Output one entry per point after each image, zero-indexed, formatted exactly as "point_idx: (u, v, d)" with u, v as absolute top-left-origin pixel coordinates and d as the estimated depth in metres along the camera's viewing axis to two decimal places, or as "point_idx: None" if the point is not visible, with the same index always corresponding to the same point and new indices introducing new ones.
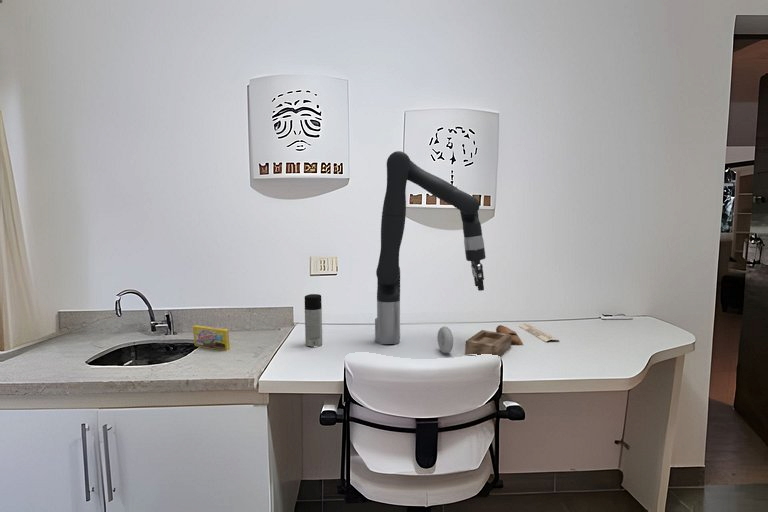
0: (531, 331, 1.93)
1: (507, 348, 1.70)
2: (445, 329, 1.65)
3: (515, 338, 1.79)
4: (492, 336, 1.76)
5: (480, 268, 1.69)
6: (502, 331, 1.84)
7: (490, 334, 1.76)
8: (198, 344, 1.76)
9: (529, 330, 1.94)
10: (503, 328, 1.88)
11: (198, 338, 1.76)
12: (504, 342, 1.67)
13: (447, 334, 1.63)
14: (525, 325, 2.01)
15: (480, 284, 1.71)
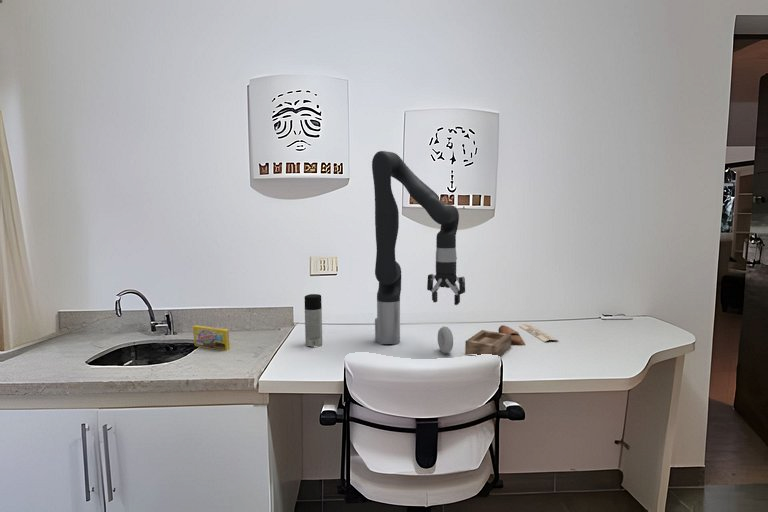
0: (530, 331, 1.93)
1: (507, 348, 1.70)
2: (445, 329, 1.65)
3: (517, 338, 1.79)
4: (492, 336, 1.76)
5: (463, 281, 1.62)
6: (504, 331, 1.84)
7: (490, 334, 1.76)
8: (198, 344, 1.76)
9: (529, 330, 1.94)
10: (505, 328, 1.87)
11: (198, 338, 1.76)
12: (504, 342, 1.67)
13: (447, 334, 1.63)
14: (525, 325, 2.01)
15: (459, 298, 1.63)
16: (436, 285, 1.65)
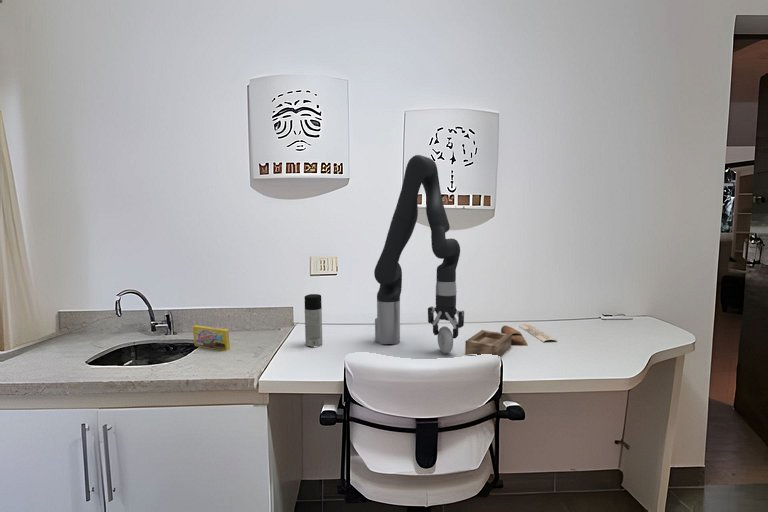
0: (530, 331, 1.93)
1: (507, 348, 1.70)
2: (445, 329, 1.65)
3: (519, 338, 1.78)
4: (492, 336, 1.76)
5: (463, 315, 1.63)
6: (506, 331, 1.84)
7: (490, 334, 1.76)
8: (198, 344, 1.76)
9: (528, 330, 1.94)
10: (508, 328, 1.87)
11: (198, 338, 1.76)
12: (504, 342, 1.67)
13: (447, 334, 1.63)
14: (525, 325, 2.01)
15: (457, 331, 1.64)
16: (436, 318, 1.67)
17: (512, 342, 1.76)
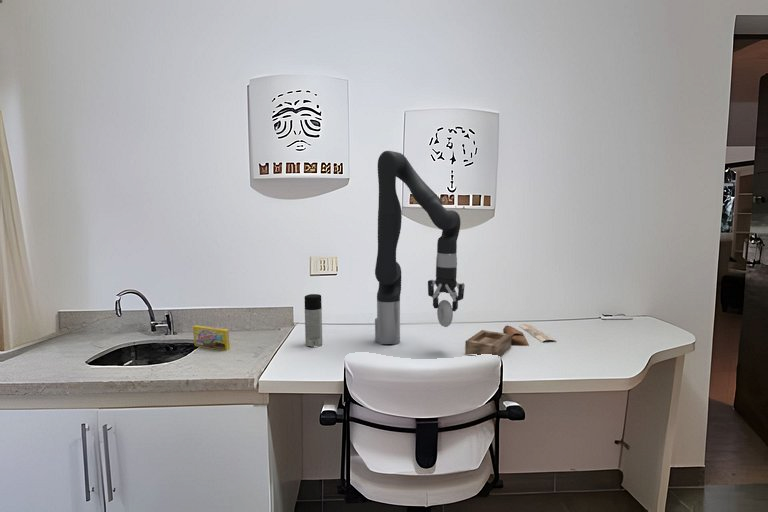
0: (530, 331, 1.93)
1: (507, 348, 1.70)
2: (445, 302, 1.64)
3: (520, 339, 1.78)
4: (492, 336, 1.76)
5: (463, 288, 1.62)
6: (508, 331, 1.84)
7: (490, 334, 1.76)
8: (198, 344, 1.76)
9: (528, 330, 1.95)
10: (510, 328, 1.87)
11: (198, 338, 1.76)
12: (504, 342, 1.67)
13: (447, 307, 1.62)
14: (525, 325, 2.01)
15: (456, 304, 1.63)
16: (436, 291, 1.65)
17: (513, 342, 1.76)
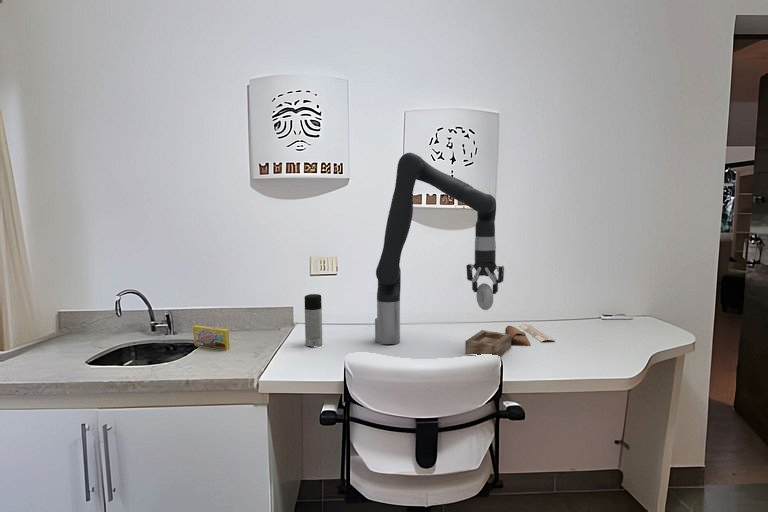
0: (529, 331, 1.93)
1: (507, 348, 1.70)
2: (485, 285, 1.65)
3: (522, 339, 1.78)
4: (492, 336, 1.76)
5: (503, 270, 1.63)
6: (510, 331, 1.84)
7: (490, 334, 1.76)
8: (198, 344, 1.76)
9: (527, 330, 1.95)
10: (511, 328, 1.87)
11: (198, 338, 1.76)
12: (504, 342, 1.67)
13: (487, 290, 1.63)
14: (525, 325, 2.01)
15: (497, 287, 1.64)
16: (476, 274, 1.66)
17: (515, 342, 1.76)
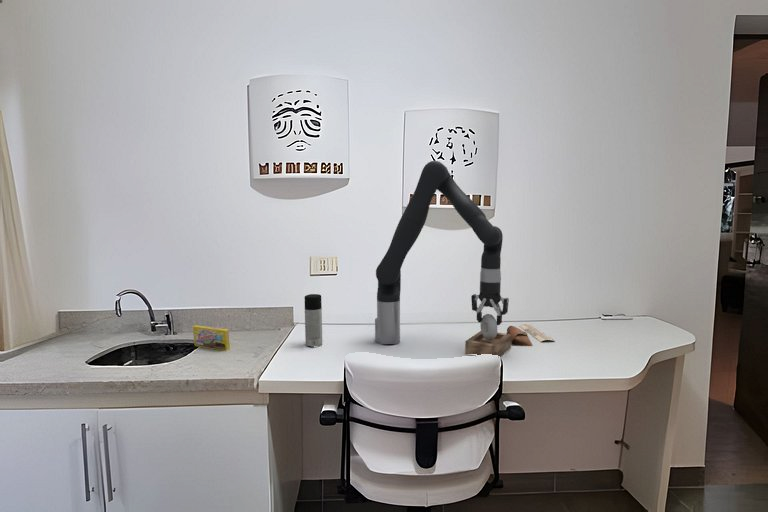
0: (529, 331, 1.93)
1: (507, 348, 1.70)
2: (489, 316, 1.67)
3: (524, 339, 1.78)
4: None
5: (507, 302, 1.65)
6: (512, 331, 1.84)
7: None
8: (198, 344, 1.76)
9: (528, 330, 1.95)
10: (513, 329, 1.87)
11: (198, 338, 1.76)
12: (504, 342, 1.67)
13: (492, 321, 1.65)
14: (525, 325, 2.01)
15: (501, 318, 1.66)
16: (481, 305, 1.68)
17: (517, 342, 1.76)
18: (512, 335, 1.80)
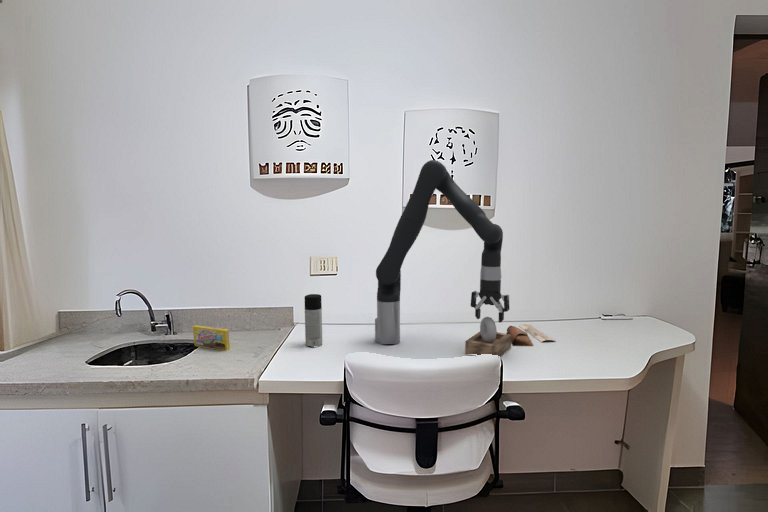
0: (529, 331, 1.93)
1: (507, 348, 1.70)
2: (488, 319, 1.67)
3: (525, 339, 1.78)
4: None
5: (508, 299, 1.65)
6: (512, 331, 1.84)
7: None
8: (198, 344, 1.76)
9: (528, 330, 1.95)
10: (513, 328, 1.87)
11: (198, 338, 1.76)
12: (504, 342, 1.67)
13: (491, 324, 1.65)
14: (525, 325, 2.01)
15: (503, 315, 1.66)
16: (480, 302, 1.68)
17: (518, 342, 1.76)
18: (513, 335, 1.80)
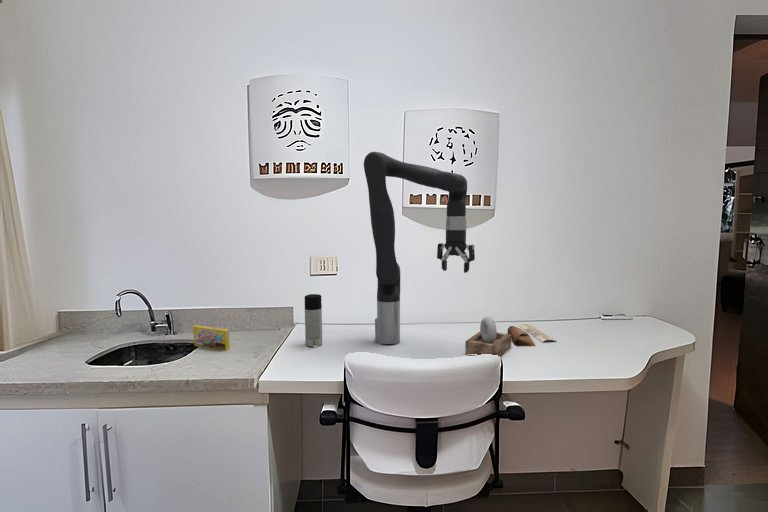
0: (530, 331, 1.93)
1: (507, 348, 1.70)
2: (488, 319, 1.67)
3: (527, 339, 1.78)
4: None
5: (473, 248, 1.65)
6: (514, 332, 1.83)
7: None
8: (198, 344, 1.76)
9: (528, 330, 1.95)
10: (515, 329, 1.86)
11: (198, 338, 1.76)
12: (504, 342, 1.67)
13: (491, 324, 1.65)
14: (525, 325, 2.01)
15: (468, 265, 1.66)
16: (446, 253, 1.68)
17: (520, 343, 1.75)
18: (515, 335, 1.79)
